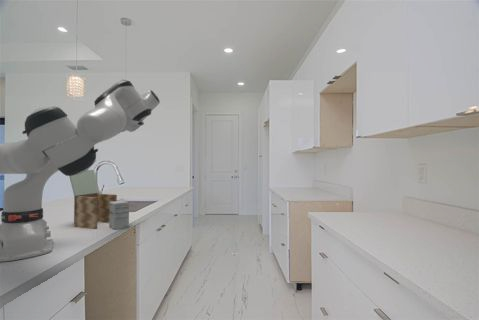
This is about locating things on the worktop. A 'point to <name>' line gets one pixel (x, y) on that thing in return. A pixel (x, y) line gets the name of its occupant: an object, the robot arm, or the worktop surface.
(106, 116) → the robot arm
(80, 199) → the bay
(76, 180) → the lid
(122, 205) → the supplement box
